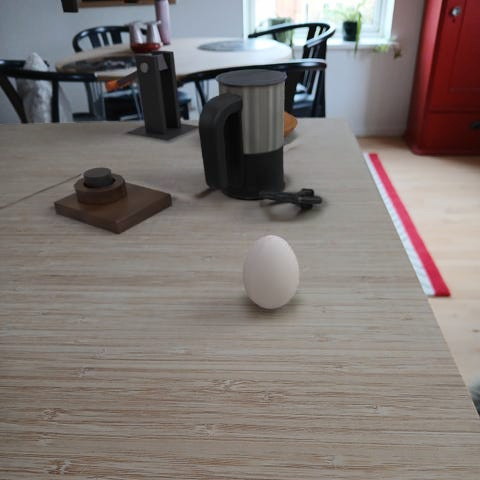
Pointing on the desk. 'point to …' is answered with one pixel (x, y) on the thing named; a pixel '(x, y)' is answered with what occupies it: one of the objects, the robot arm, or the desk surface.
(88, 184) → the stop button
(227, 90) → the milk frother
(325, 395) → the desk surface
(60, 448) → the desk surface
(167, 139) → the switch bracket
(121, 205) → the brown button base
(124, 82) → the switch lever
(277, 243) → the egg
